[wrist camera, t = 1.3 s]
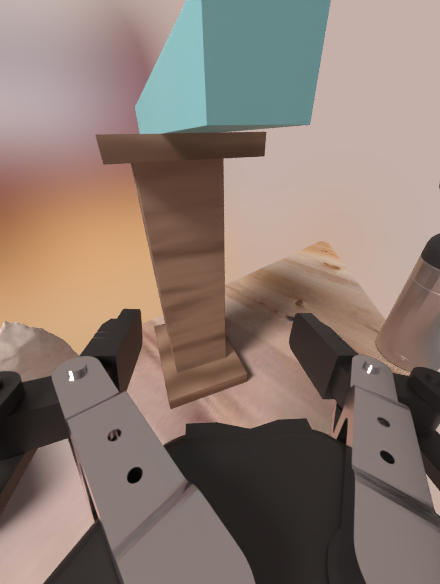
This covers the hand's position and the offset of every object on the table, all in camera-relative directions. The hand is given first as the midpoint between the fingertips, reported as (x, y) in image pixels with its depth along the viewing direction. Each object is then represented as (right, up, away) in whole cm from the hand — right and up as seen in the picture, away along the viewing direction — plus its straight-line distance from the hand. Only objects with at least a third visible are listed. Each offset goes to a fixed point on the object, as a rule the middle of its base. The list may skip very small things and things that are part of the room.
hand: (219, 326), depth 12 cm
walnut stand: (-4, -9, +28) cm, 30 cm away
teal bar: (-3, +15, +7) cm, 17 cm away
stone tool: (-23, -15, +22) cm, 35 cm away
